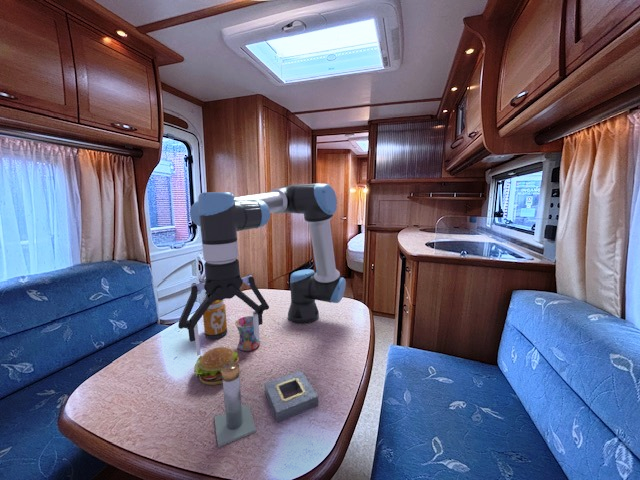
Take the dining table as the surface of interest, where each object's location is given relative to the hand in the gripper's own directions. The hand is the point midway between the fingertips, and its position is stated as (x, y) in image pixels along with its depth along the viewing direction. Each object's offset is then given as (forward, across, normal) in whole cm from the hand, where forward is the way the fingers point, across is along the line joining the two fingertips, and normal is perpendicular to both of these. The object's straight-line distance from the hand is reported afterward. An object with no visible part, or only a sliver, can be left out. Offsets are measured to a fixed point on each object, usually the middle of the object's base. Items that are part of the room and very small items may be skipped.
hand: (229, 344), depth 63 cm
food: (+23, +2, -23) cm, 33 cm away
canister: (+23, 0, -51) cm, 56 cm away
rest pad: (+23, 0, 0) cm, 23 cm away
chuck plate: (+23, -16, -1) cm, 28 cm away
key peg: (+22, 0, 0) cm, 22 cm away
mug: (+23, -12, -35) cm, 44 cm away
